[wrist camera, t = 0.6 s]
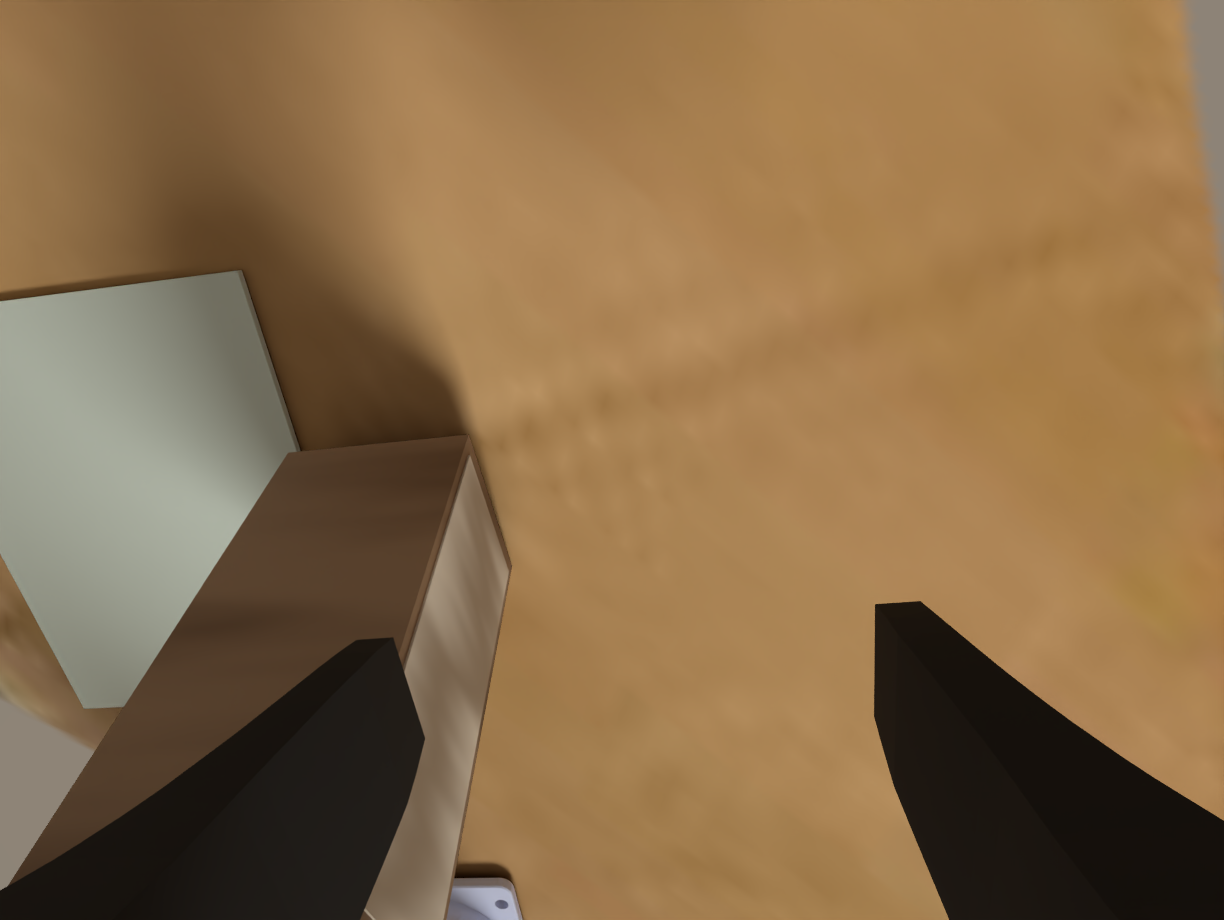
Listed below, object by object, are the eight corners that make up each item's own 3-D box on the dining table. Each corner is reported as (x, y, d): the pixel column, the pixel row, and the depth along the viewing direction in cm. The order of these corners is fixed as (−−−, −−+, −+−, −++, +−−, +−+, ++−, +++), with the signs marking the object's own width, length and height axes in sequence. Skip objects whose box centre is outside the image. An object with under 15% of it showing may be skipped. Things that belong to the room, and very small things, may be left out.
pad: (379, 690, 23) (376, 695, 23) (88, 704, 25) (84, 708, 24) (242, 269, 18) (237, 271, 18) (-120, 316, 19) (-128, 318, 19)
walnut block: (513, 566, 21) (430, 1019, 12) (356, 579, 21) (169, 1022, 13) (470, 434, 18) (319, 913, 9) (288, 452, 18) (-16, 923, 10)
